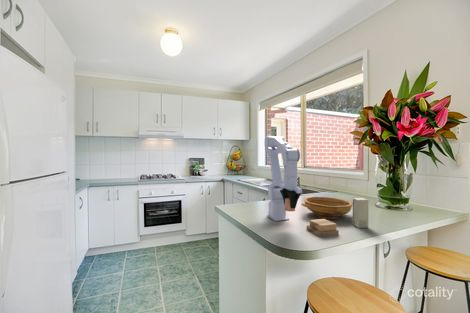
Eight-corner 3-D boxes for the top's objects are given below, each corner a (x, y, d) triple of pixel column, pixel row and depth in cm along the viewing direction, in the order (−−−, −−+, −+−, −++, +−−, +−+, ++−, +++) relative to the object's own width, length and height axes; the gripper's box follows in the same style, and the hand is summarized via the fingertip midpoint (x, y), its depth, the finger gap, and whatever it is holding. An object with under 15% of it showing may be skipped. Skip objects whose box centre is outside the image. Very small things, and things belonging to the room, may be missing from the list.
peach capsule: (282, 209, 99) (283, 198, 99) (291, 208, 101) (291, 197, 101) (288, 211, 95) (288, 200, 95) (297, 210, 96) (297, 199, 96)
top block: (309, 225, 96) (309, 220, 96) (324, 224, 99) (324, 218, 99) (321, 231, 89) (321, 225, 89) (336, 229, 91) (336, 223, 91)
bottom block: (306, 231, 97) (306, 225, 97) (323, 229, 100) (323, 223, 100) (320, 238, 88) (320, 232, 88) (338, 236, 91) (338, 230, 91)
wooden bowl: (315, 224, 104) (316, 207, 104) (291, 211, 128) (291, 197, 128) (368, 220, 111) (368, 204, 111) (335, 208, 134) (336, 195, 134)
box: (362, 224, 104) (363, 197, 104) (368, 228, 100) (369, 199, 100) (351, 224, 104) (352, 197, 104) (357, 228, 100) (357, 199, 99)
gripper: (274, 174, 103) (273, 203, 103) (291, 178, 89) (291, 211, 90) (287, 174, 105) (287, 202, 106) (306, 177, 92) (305, 210, 92)
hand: (289, 206), depth 98 cm, fingers closed on peach capsule, 4 cm apart
